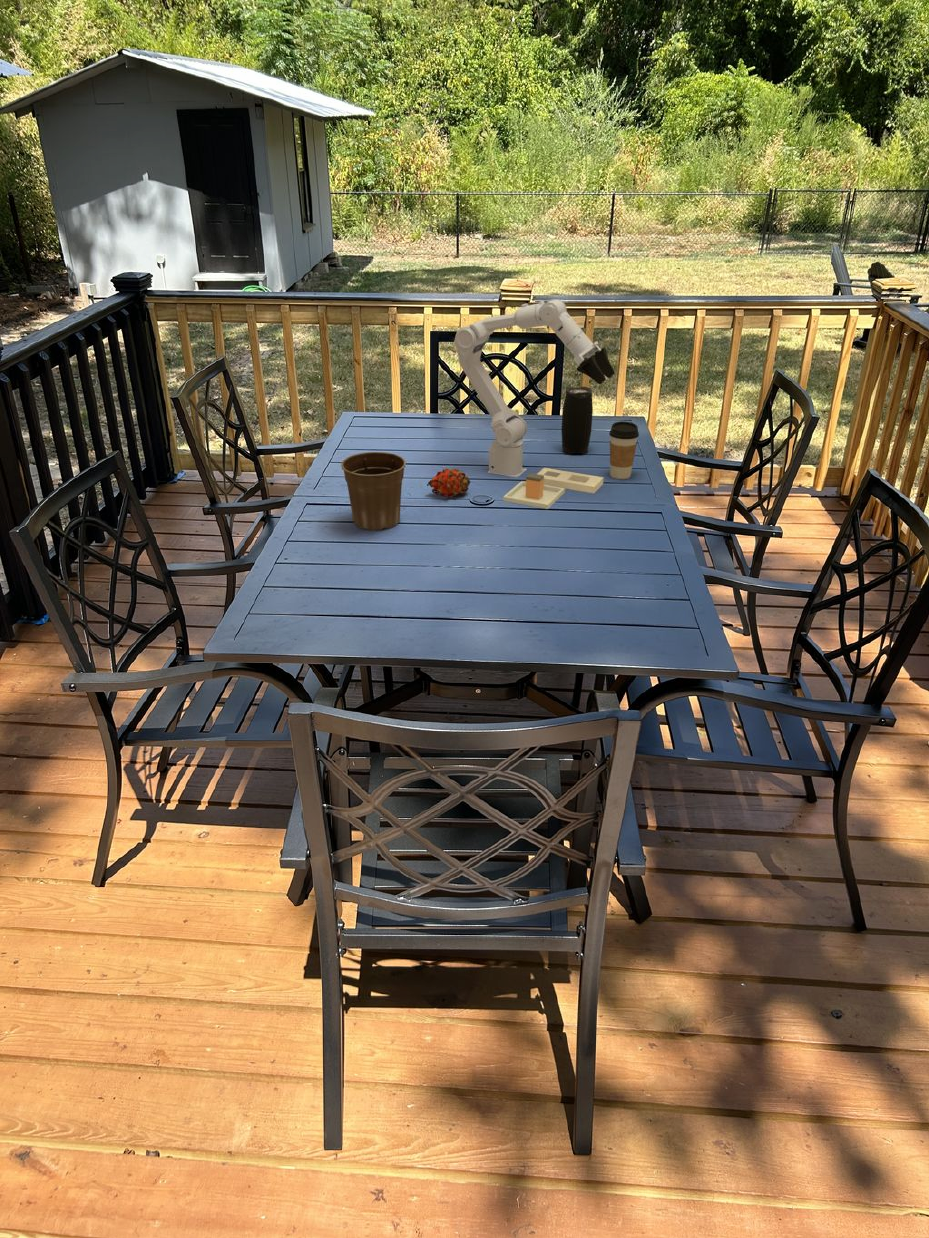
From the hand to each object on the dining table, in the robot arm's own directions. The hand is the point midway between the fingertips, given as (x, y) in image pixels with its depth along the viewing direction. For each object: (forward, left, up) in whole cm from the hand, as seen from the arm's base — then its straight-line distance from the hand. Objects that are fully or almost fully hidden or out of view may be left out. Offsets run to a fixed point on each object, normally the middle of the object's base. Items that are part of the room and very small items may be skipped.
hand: (607, 378), depth 239 cm
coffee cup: (+2, +13, -31) cm, 34 cm away
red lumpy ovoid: (-36, -23, -31) cm, 53 cm away
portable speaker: (-17, +27, -31) cm, 45 cm away
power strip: (-9, -1, -31) cm, 32 cm away
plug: (-14, -15, -31) cm, 36 cm away
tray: (-14, -15, -31) cm, 37 cm away
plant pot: (-45, -47, -31) cm, 72 cm away
